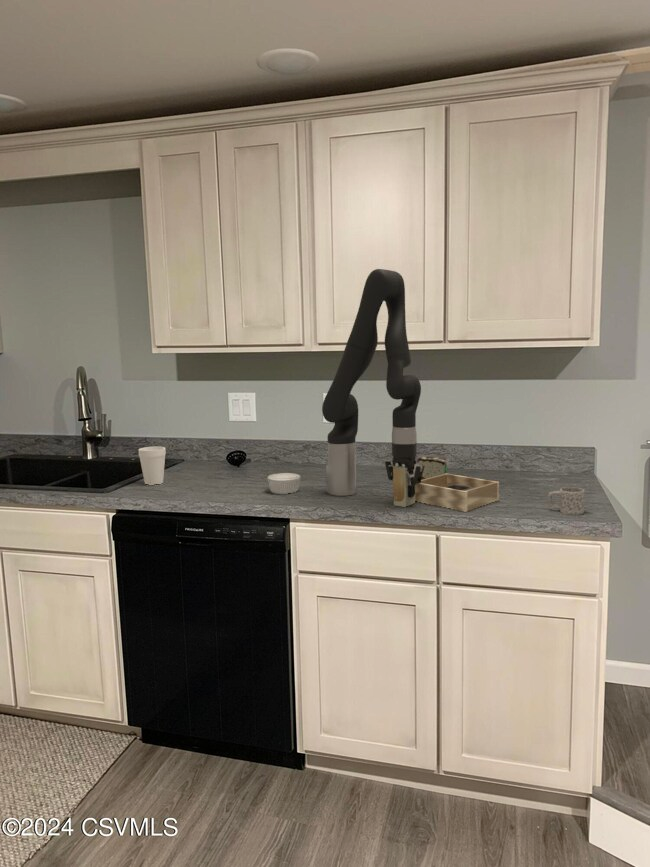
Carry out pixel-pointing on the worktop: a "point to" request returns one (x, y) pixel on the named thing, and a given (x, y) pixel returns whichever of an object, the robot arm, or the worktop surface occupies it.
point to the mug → (569, 500)
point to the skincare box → (401, 487)
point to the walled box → (456, 492)
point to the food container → (433, 465)
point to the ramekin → (284, 483)
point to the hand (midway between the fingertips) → (404, 495)
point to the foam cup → (152, 464)
